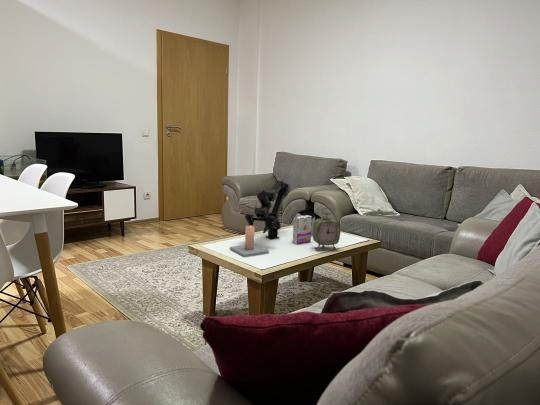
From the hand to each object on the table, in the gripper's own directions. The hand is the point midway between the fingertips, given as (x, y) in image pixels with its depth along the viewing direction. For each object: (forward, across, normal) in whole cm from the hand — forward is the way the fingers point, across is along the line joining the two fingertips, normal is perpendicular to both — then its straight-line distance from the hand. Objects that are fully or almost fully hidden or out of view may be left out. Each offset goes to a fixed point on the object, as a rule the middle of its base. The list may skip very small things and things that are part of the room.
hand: (256, 231), depth 250 cm
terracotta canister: (+12, 0, 0) cm, 12 cm away
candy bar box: (-11, +19, +26) cm, 33 cm away
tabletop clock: (-6, +35, +22) cm, 42 cm away
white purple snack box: (-24, +14, +40) cm, 49 cm away
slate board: (+13, 0, +1) cm, 13 cm away
